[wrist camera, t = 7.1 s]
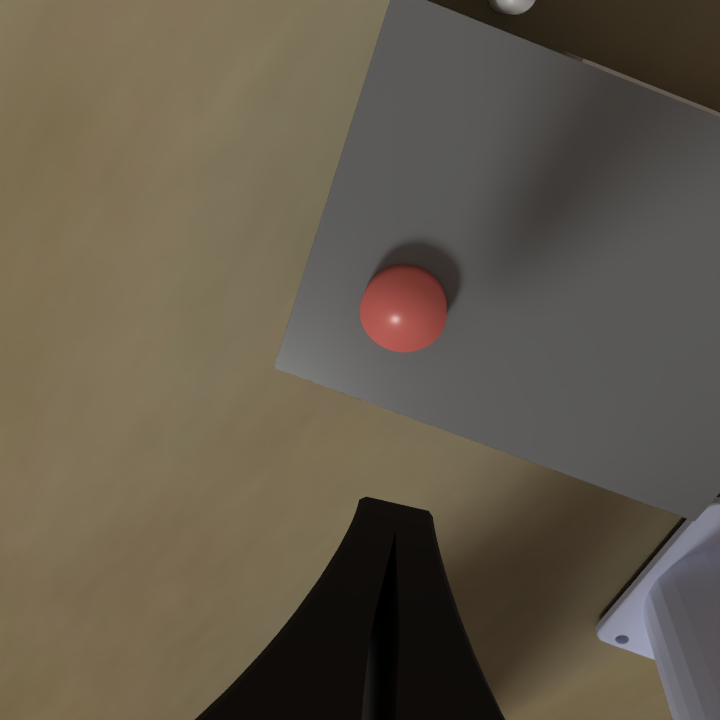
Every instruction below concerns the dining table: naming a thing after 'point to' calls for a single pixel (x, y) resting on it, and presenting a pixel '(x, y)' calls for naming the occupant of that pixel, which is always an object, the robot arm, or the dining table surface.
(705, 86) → the dining table surface
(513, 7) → the side door
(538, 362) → the camera body
